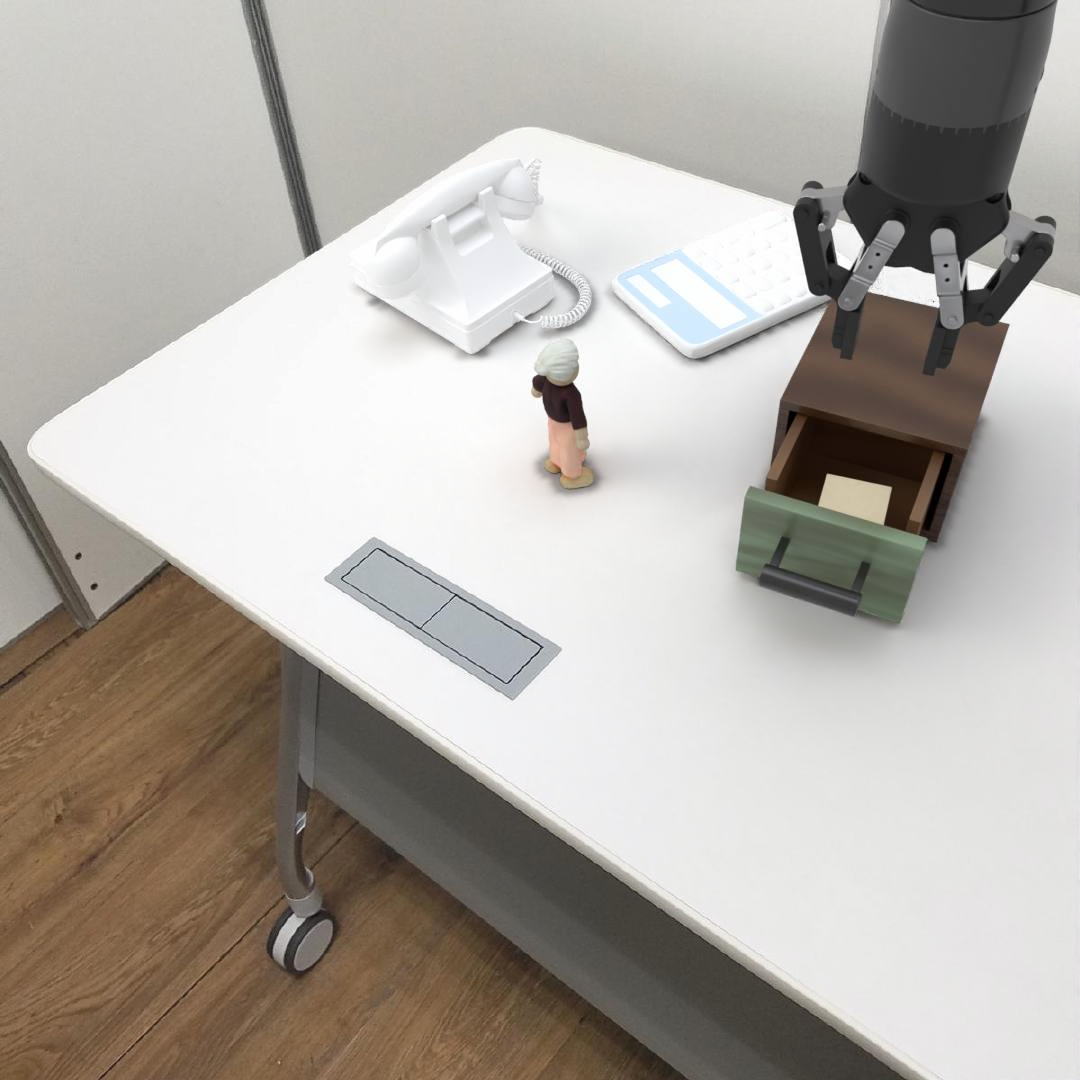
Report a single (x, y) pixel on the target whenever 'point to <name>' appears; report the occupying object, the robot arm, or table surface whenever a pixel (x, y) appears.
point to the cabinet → (897, 386)
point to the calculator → (723, 285)
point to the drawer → (839, 520)
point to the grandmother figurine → (563, 412)
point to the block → (856, 498)
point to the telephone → (466, 258)
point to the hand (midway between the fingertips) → (889, 357)
